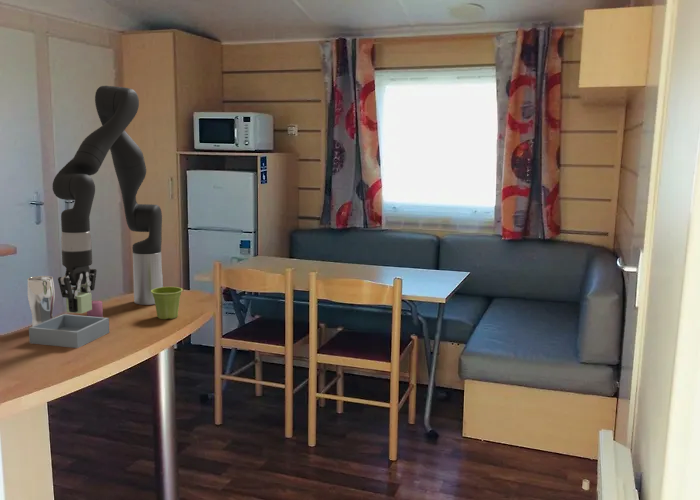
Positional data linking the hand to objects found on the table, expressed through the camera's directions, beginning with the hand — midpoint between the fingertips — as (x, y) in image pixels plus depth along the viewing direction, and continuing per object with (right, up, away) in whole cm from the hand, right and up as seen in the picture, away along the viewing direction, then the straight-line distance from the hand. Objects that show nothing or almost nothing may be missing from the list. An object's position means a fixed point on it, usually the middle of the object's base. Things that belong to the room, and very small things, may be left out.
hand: (79, 309), depth 177 cm
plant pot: (+17, -5, +26) cm, 31 cm away
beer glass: (-15, -7, +10) cm, 19 cm away
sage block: (0, 0, 0) cm, 0 cm away
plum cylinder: (-3, -5, +19) cm, 20 cm away
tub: (-4, -8, +3) cm, 9 cm away
